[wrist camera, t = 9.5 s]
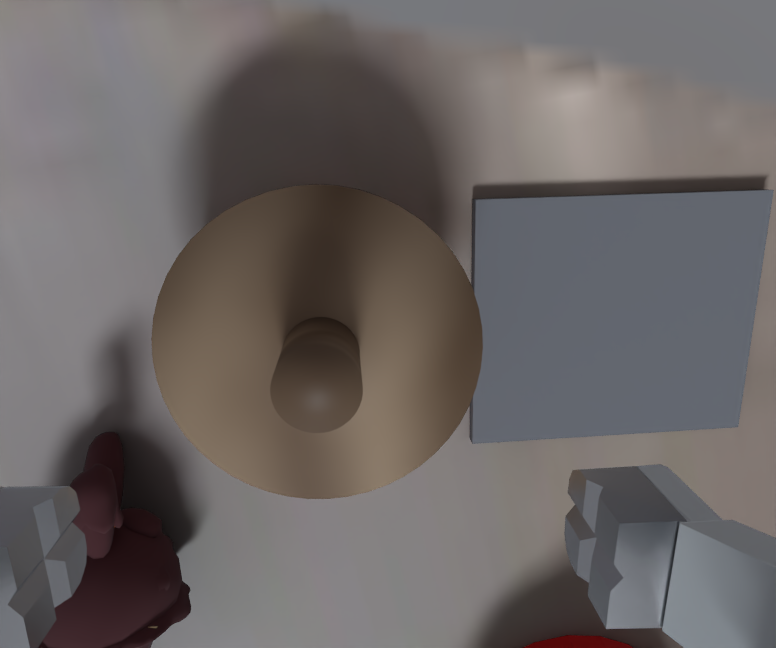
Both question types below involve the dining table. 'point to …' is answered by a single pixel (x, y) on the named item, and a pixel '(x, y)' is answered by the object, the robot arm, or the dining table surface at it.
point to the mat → (614, 312)
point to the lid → (317, 341)
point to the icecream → (118, 565)
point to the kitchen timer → (578, 642)
